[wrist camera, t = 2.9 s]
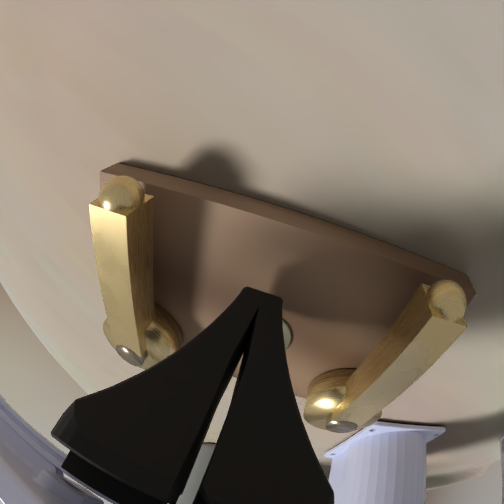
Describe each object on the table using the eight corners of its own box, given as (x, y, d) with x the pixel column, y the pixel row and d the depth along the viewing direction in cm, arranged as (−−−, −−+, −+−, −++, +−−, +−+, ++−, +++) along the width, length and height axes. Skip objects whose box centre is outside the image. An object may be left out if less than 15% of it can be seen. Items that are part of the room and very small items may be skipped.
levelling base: (366, 394, 15) (365, 417, 14) (128, 315, 17) (114, 333, 15) (467, 275, 9) (480, 300, 8) (117, 163, 11) (91, 175, 10)
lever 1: (182, 359, 15) (165, 389, 13) (124, 332, 15) (105, 359, 14) (197, 176, 9) (160, 201, 7) (106, 155, 9) (64, 174, 7)
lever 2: (358, 410, 14) (356, 443, 12) (297, 397, 14) (290, 432, 12) (479, 275, 8) (501, 316, 6) (399, 241, 8) (414, 284, 6)
